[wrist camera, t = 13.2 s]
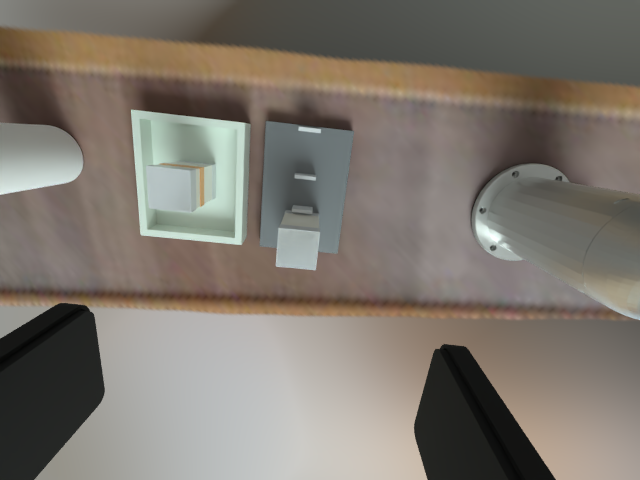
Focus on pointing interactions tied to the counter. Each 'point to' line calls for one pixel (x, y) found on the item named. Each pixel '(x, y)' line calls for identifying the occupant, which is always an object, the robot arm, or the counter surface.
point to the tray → (198, 146)
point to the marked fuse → (180, 185)
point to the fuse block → (305, 179)
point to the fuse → (298, 240)
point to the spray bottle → (36, 157)
